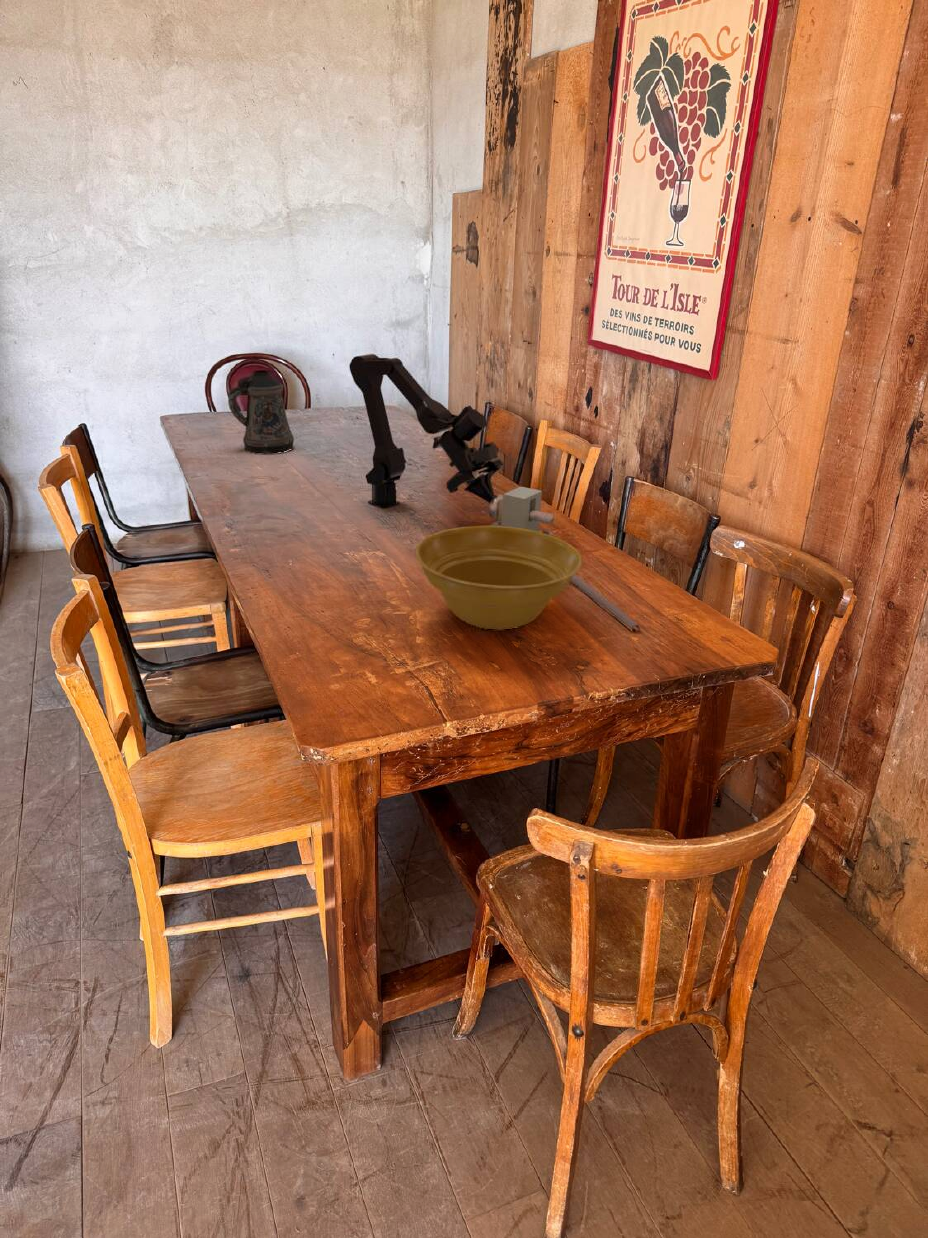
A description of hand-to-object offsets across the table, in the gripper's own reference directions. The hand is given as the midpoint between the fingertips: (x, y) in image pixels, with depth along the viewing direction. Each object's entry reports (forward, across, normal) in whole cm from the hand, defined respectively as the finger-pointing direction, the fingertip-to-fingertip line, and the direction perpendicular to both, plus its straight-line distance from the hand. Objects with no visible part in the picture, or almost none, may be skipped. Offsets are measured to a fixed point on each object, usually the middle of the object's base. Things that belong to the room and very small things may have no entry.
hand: (494, 502), depth 211 cm
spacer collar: (+5, 0, 0) cm, 5 cm away
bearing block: (+11, 0, 0) cm, 11 cm away
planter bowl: (+25, -44, -14) cm, 52 cm away
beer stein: (-68, +22, +77) cm, 105 cm away
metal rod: (+35, -25, -24) cm, 49 cm away
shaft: (+9, 0, -3) cm, 9 cm away
